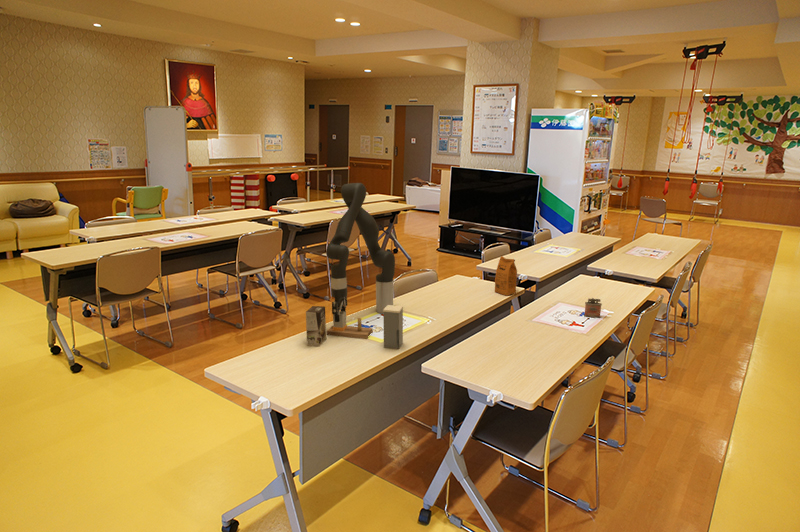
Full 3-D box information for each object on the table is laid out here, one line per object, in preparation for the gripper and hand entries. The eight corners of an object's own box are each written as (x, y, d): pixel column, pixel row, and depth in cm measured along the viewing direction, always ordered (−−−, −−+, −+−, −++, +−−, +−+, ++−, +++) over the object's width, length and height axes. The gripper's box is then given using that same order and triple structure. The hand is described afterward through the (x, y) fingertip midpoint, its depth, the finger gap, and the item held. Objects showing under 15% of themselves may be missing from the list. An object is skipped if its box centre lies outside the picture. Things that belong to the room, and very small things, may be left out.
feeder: (387, 341, 239) (387, 304, 235) (402, 343, 237) (403, 306, 233) (383, 347, 232) (383, 309, 228) (399, 349, 231) (399, 311, 226)
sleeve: (336, 326, 253) (336, 310, 251) (346, 327, 252) (346, 311, 250) (333, 330, 248) (332, 314, 246) (343, 330, 247) (342, 315, 245)
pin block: (333, 328, 256) (333, 313, 254) (372, 332, 251) (372, 316, 249) (326, 335, 247) (326, 319, 245) (366, 338, 242) (366, 322, 240)
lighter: (584, 317, 272) (585, 298, 270) (583, 315, 275) (585, 296, 273) (600, 318, 270) (602, 300, 267) (600, 316, 273) (601, 298, 271)
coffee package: (503, 289, 322) (505, 254, 317) (518, 294, 312) (520, 258, 307) (491, 291, 317) (493, 256, 312) (505, 296, 307) (507, 260, 301)
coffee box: (320, 346, 234) (318, 312, 230) (306, 345, 235) (305, 311, 231) (326, 339, 242) (325, 306, 238) (313, 338, 243) (312, 305, 240)
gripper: (336, 281, 252) (338, 313, 256) (325, 290, 239) (327, 323, 243) (351, 282, 250) (352, 314, 254) (341, 291, 237) (342, 324, 241)
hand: (340, 318), depth 249 cm, fingers open, 8 cm apart
